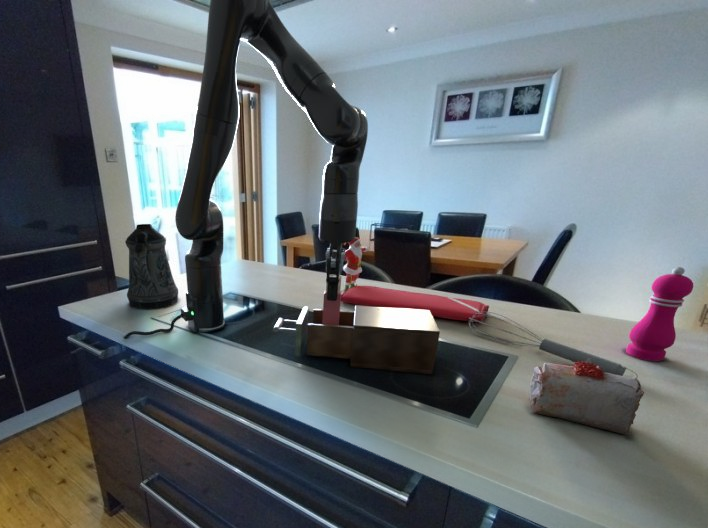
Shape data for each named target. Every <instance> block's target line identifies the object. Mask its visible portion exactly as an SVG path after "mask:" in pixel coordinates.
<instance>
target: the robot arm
mask: <svg viewBox="0 0 708 528" xmlns="http://www.w3.org/2000/svg"><path fill="white" fill-rule="evenodd" d="M207 18H208V19H207V31H206V44H205V53H204V63H203V68H202V76H201V81H200V90H199V96H198V102H197V107H196V111H195V117H194V123H193V129H192V137H191V143H190V149H189V154H188V160H187V165H186V171H185V175H184V180H183V184H182V188H181V191H180V195H179V199H178V201H177V206H176V211H175V216H174V217H175V219H174V220H175V221H174V222H175V227H176V230H177V232H178V233H179V235H180V236H181V237H182V238H183V239H185V240H187V241H192V243H191V246H190V248H189V250H188V251H187V252H186V254H185V256H184V263H185V277H186V287H187V291H186V292H185V300H186V302H185V303H186V306H184V307H180V314H178V315H177V316H175V317H174V318H173V319H172V320H171V323H170V327H169V328H158V329H157V328H156V329H154V330H150V331H139V330H133V331H129V332H128V333H126V334H125V335H124V336H123V339H129V338H130V337H131V336H135V335H138V336H153V335H156V334H159V333H170V332H172V331H173V330H174V328H175V324H176V322H177V321H179V320H180V319H182V320H184V321H185V322H187V323H188V325H187V326H188V327H189V328H190V330H192V331H193V332H194V333H211V332H212V333H213V332H216V331H220V330H222V329H224V328H225V314H224V313H225V311H224V293H223V275H222V273H223V272H222V256H223V253H224V217H223V213H222V210H221V207H220V206H219V205H218V203H217V202H215V201H214V200H212V199H211V195H212V191H213V188H214V184H215V182H216V179H217V178H218V176H219V174H220V173H221V171H222V169H223V167H224V165H225V164H226V162H227V161H228V158H229V156H230V154H231V152H232V149H233V147H234V143H235V139H236V134H237V130H238V125H239V120H240V101H239V93H238V85H237V74H236V73H237V72H236V71H237V58H238V53H239V48H240V44H241V43H240V42H241V41H243V42H245V43H247V44H248V45H250V46H251V47H252V48H254V49H255V50H256V51H257V52H258V53H260V54H261V55H262V56H263V57H264V58H265V59H266V61H267V62H268V63H269V65H270V66H271V68H272V69H273V70H274V72H275V75H276V77H277V78H278V80H279V82H280V83H281V84H282V87H284V89H285V91H286V92H287V93H288V94H289V95H290V97H292V99H293V100H294V101H295V102H296V103H297V105H298V106H299V107H300V108H301V109H302V110H303V111H304V112H305V113H306V116H307V117H308V119H309V120H310V122H311V123H312V125H313V127H314V129H315V130H316V132H317V133H318V135H319V136H321V138H322V139H323V140H324V141H325V142H326V143H328V144H329V145H331V146H332V148H331V154H330V160H329V161H328V162H327V163H326V164H325V166H324V169H323V175H322V191H321V200H320V206H319V223H318V239H319V241H321V242H325V243H329V247H327V248H326V249H325V256H324V257H325V260H326V261H325V272H326V277H327V279H326V278H325V284H326V283H327V284H328V286H327V300H329V301H336V300H337V294H338V284H339V282H340V280H339V275H341V274H342V272H343V268H344V260H345V259H346V258H345V251H346V250H347V249H346V248H344V247H343V244H344V243H345V242H347V243H349V242H352V241H354V240H355V237H356V235H357V234H356V231H357V220H358V209H359V199H358V197H359V196H358V195H359V183H360V169H361V165H362V162H363V158H364V154H365V150H366V147H367V146H366V145H367V140H368V134H369V124H368V123H369V122H368V119H367V118H368V117H367V115H366V113H365V112H364V111H363V109H361V108H359V107H357V106H354V105H352V104H350V103H349V102H348V101H347V100H346V99H345V98H344V97H343V96H342V95H341V94H340V92H338V90H337V89H336V86H335V83H334V81H333V79H332V78H331V77H330V76H329V74H328V73H327V72H326V71H325V70H324V69H323V67H321V66H320V64H319V63H318V62H317V61H316V60H315V59H314V58H313V57H312V56H311V55H310V54H309V52H308V51H307V50H306V49H305V48H304V47H303V46H302V45H301V44H300V43H299V42H298V41H297V40H296V39H295V38H294V37H293V35H292V34H291V33H290V32H289V30H288V29H287V27H286V26H285V24H284V23H283V21H282V20H281V19H280V17H279V16H278V13H277V11H276V10H275V8H274V7H273V5H272V3H271V2H270V0H209V8H208V17H207ZM330 274H334V275H336V277H330Z"/></svg>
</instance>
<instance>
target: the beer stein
mask: <svg viewBox="0 0 708 528" xmlns="http://www.w3.org/2000/svg"><path fill="white" fill-rule="evenodd" d="M124 243H125V245H126V248H127V249H128V290H127V292H126V297H127V300H128V302H129V306H131V308H134V309H138V310H156V309H163V308H168V307H170V306H173V305H175V304H177V302H178V299H179V288H178V286H177V284H176V282H175V279H174V276H173V273H172V270H171V266H170V263H169V258H168V255H167V251H166V244H167V238H166V237H165V236H164V235H163V234H161V233H160V232H159V231H158V230H156V229H155V228H154V227H153V225H152V224H150V223H140V224H136V227H135V229H134V230H133V231H132V232H131V233H130V235H128V236H127V238H126V239H125V242H124Z"/></svg>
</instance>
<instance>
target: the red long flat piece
mask: <svg viewBox="0 0 708 528" xmlns="http://www.w3.org/2000/svg"><path fill="white" fill-rule="evenodd" d="M349 288H350V287H349ZM342 302H343V303H347V304H353V305H357V306H371V307H387V308H403V309H419V310H430V312H431V314H432V316H433V317H436V318H442V319H449V320H455V321H463V322H469V321H470V320H471V319H472V317H473V315H475V314H476V313H479V312H480V313H483V314H476V315H475V316H478V317H475V316H474V317H475V318H474V317H473V319H474V320H477V321H480V322H483V321H484V319H485V317H486V315H485V314H488V313H489V309H490V305H488V304H484V303H483V302H480V301H477V300H472V299H464V298H457V297H456V298H455V297H449V296H444V295H443V296H442V295H437V294H436V295H435V294H430V293H421V292H413V291H407V290H400V289H394V288H393V289H392V288H385V287H378V286H372V285H357V286H355V287H353V288H350V289H348V290H347V291H343V292H342V293H341V303H342ZM469 318H471V319H469ZM474 320H471V321H470V322H471V323H472V321H473V323H478V322H477V321H474ZM470 322H469V323H470Z"/></svg>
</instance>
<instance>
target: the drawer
mask: <svg viewBox="0 0 708 528" xmlns="http://www.w3.org/2000/svg"><path fill="white" fill-rule="evenodd" d="M309 310H310V308H309V306H303V308H302V310H301V312H300V313H299V316H298V319H297V320H293V319H284V318H283V317H279V318H278V320H277V321H276V323H275V324H274V326H273V327H272V328H273V329H272V331H273V332H274V333H276V334H277V333H279V332H287V333H295V340H294V341H295V342H294V343H295V345H294V346H295V347H294V357H299V358H301V356H302V353H303V350H304V347H305V345H306V356H316V357H325V358H326V357H327V358H336V359H348V360H351V352H352V341H353V329H354V315H355V311H353V310H352V311H351V310H340V316H339V326H338V325H324V324H322V319H323V308H322V309H320V308H313V309H312V322H311V323H310V322H309V312H310V311H309ZM283 324H295V328H289V327H288V328H287V327H282V326H283Z"/></svg>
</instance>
